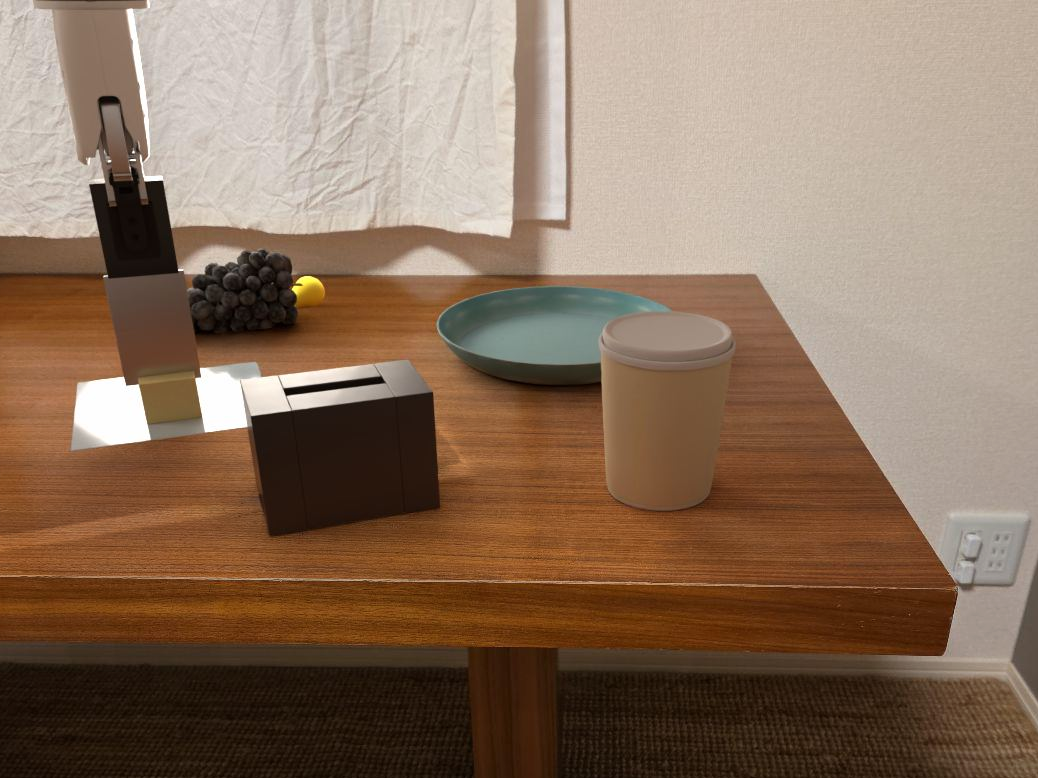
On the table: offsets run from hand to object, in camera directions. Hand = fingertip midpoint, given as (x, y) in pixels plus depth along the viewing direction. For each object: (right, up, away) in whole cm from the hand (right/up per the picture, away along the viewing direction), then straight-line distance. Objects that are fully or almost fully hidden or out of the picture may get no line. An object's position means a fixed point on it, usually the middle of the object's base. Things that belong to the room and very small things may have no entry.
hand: (138, 252), depth 78 cm
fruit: (-1, -1, +29) cm, 29 cm away
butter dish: (-1, -11, +9) cm, 15 cm away
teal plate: (+33, -4, +23) cm, 40 cm away
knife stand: (+17, -20, -5) cm, 27 cm away
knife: (0, -9, +5) cm, 11 cm away
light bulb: (+4, +4, +36) cm, 36 cm away
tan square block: (+1, -12, +6) cm, 13 cm away
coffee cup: (+40, -19, -4) cm, 44 cm away
